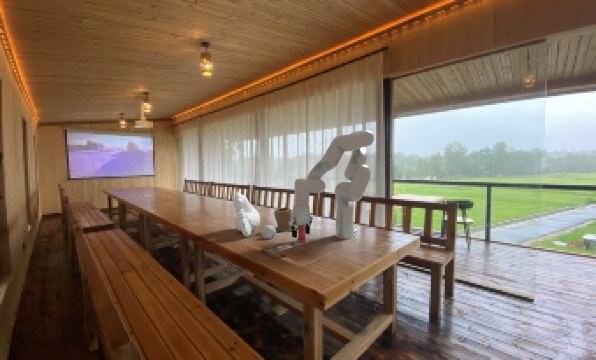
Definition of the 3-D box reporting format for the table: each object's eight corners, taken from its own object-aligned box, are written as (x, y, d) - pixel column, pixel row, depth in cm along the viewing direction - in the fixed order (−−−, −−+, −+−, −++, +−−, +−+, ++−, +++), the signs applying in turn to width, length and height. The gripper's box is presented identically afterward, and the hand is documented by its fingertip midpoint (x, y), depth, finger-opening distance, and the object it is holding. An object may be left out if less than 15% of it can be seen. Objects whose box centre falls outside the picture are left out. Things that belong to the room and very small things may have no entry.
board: (298, 239, 145) (298, 237, 145) (315, 244, 137) (315, 242, 137) (261, 252, 127) (261, 249, 127) (278, 258, 118) (278, 255, 118)
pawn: (301, 239, 142) (301, 221, 141) (308, 241, 138) (308, 223, 138) (295, 241, 138) (295, 223, 137) (302, 243, 135) (302, 224, 134)
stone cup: (270, 233, 157) (270, 208, 156) (278, 228, 169) (278, 205, 167) (294, 236, 153) (294, 210, 152) (301, 230, 164) (301, 206, 163)
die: (270, 244, 140) (279, 228, 142) (256, 235, 141) (266, 220, 143) (271, 245, 148) (280, 230, 150) (258, 236, 149) (267, 222, 151)
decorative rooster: (241, 215, 174) (225, 189, 158) (264, 212, 172) (250, 184, 156) (234, 248, 156) (215, 222, 140) (259, 245, 153) (243, 217, 137)
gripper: (307, 200, 145) (306, 231, 147) (284, 203, 133) (283, 237, 134) (317, 202, 140) (317, 233, 142) (295, 205, 128) (294, 240, 129)
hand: (300, 235), depth 138 cm, fingers open, 9 cm apart
